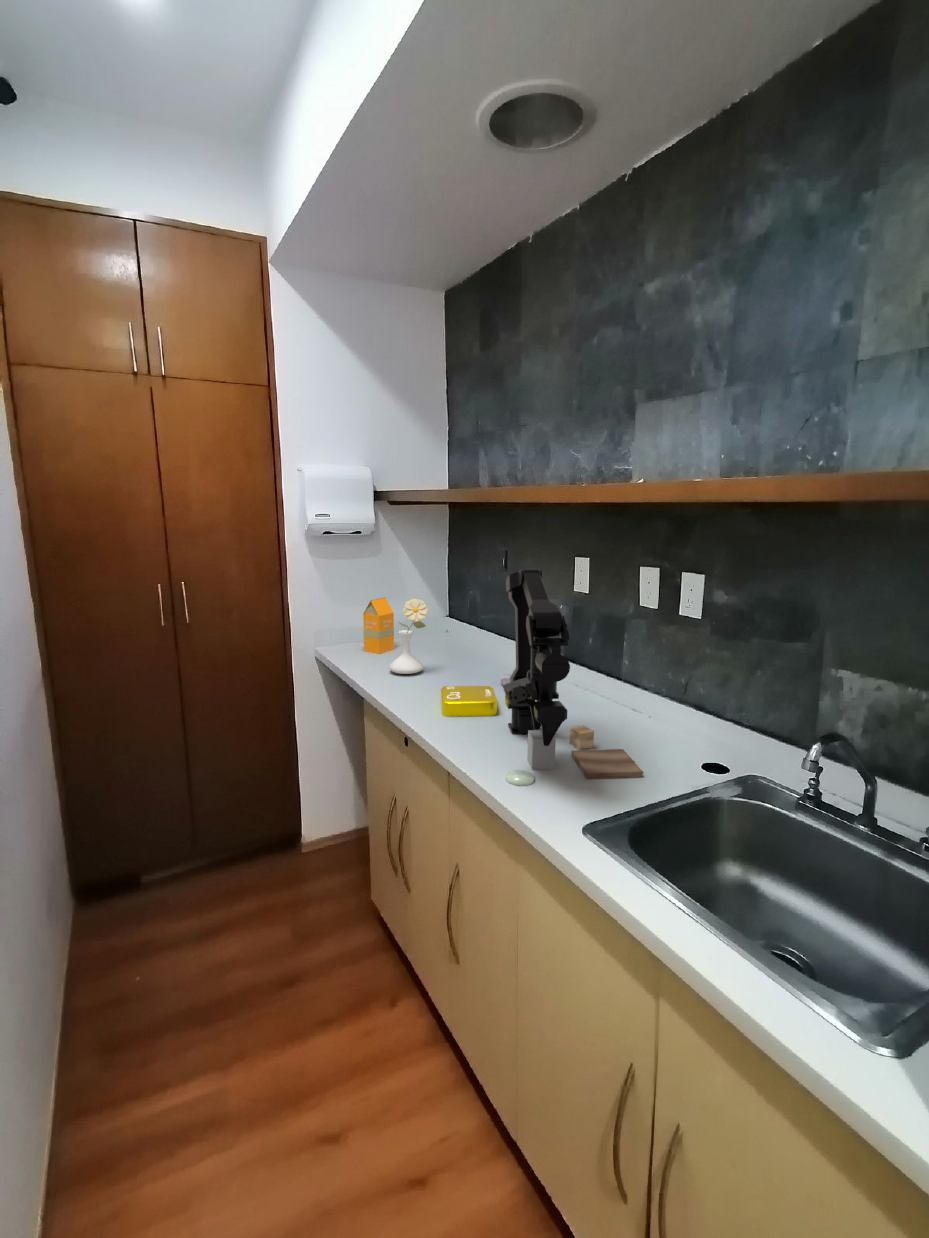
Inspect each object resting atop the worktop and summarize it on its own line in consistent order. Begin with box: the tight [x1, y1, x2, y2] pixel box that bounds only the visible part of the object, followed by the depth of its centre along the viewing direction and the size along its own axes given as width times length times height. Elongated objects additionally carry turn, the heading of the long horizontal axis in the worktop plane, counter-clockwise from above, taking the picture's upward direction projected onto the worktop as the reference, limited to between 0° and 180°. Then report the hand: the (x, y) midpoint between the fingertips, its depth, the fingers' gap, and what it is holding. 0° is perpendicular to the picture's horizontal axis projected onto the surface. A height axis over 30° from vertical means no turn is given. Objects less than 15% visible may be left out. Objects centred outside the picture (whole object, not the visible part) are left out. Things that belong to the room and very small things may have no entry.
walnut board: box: [571, 748, 644, 780], centre depth 136 cm, size 12×12×1 cm
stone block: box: [500, 670, 514, 687], centre depth 196 cm, size 12×5×10 cm
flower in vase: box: [388, 597, 429, 675], centre depth 206 cm, size 13×11×25 cm
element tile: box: [440, 685, 498, 718], centre depth 174 cm, size 15×15×5 cm
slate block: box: [526, 729, 557, 771], centre depth 136 cm, size 5×5×7 cm
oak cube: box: [568, 725, 595, 750], centre depth 148 cm, size 4×4×4 cm
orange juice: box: [362, 596, 395, 655], centre depth 236 cm, size 8×9×20 cm
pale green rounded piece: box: [504, 769, 535, 787], centre depth 130 cm, size 6×6×1 cm
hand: (541, 737), depth 136 cm, fingers open, 9 cm apart
